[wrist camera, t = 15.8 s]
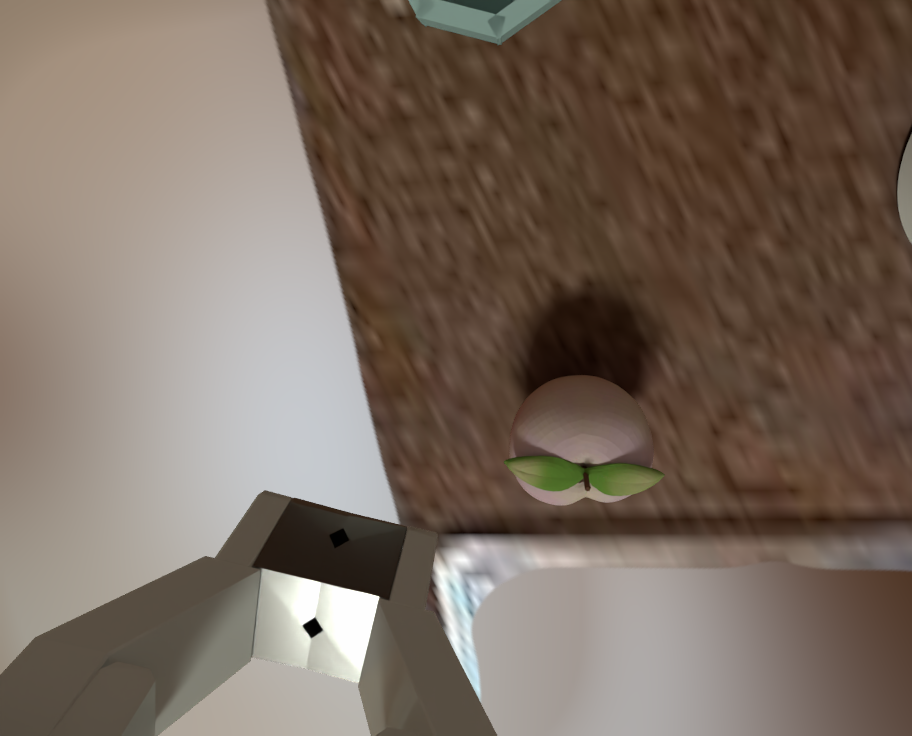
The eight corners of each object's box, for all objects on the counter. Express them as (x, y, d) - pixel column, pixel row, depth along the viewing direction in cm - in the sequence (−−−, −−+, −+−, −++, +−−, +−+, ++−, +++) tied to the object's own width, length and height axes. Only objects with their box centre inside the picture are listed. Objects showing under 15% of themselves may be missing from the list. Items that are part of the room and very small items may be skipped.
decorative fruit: (635, 343, 38) (674, 412, 29) (638, 445, 41) (674, 537, 32) (498, 357, 39) (495, 428, 30) (511, 455, 42) (511, 546, 33)
